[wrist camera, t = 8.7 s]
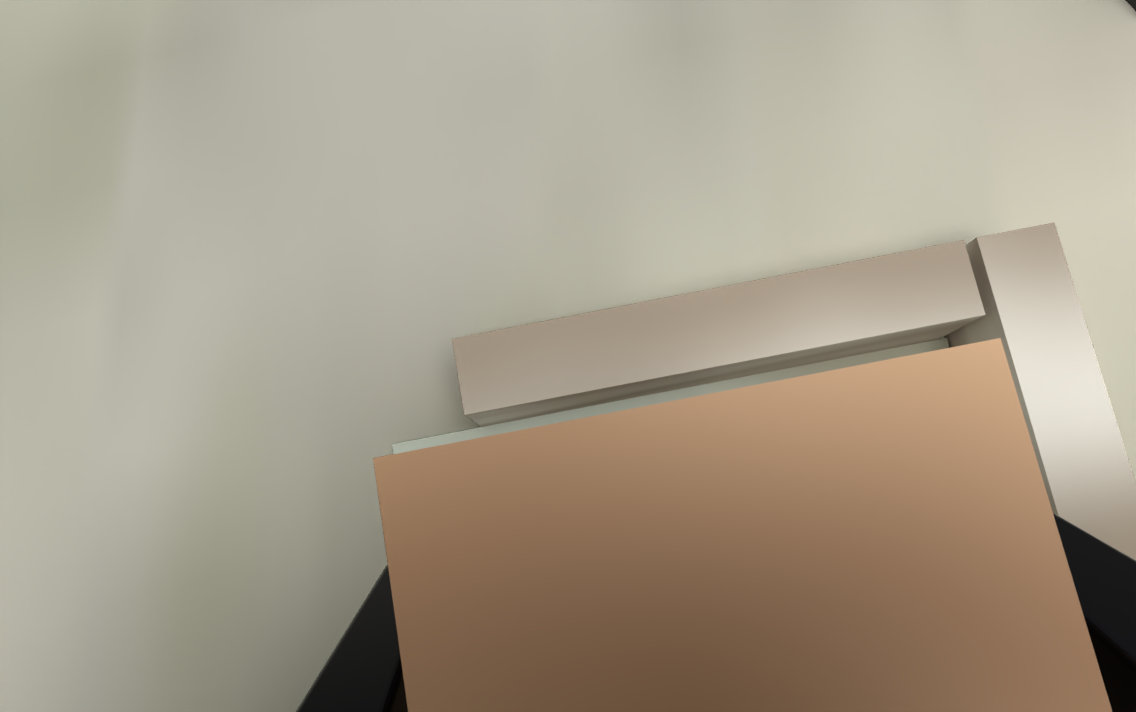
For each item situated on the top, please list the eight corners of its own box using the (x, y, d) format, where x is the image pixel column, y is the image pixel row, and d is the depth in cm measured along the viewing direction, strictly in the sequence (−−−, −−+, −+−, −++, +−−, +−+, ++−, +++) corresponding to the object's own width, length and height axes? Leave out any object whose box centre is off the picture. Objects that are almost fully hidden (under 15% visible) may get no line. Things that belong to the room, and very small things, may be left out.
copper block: (789, 680, 17) (1219, 1064, 5) (569, 721, 17) (474, 1197, 5) (739, 459, 18) (999, 337, 6) (530, 499, 18) (373, 457, 6)
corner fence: (1192, 930, 16) (1300, 1007, 13) (484, 1059, 16) (461, 1159, 13) (993, 260, 18) (1053, 222, 16) (384, 378, 18) (350, 358, 16)
